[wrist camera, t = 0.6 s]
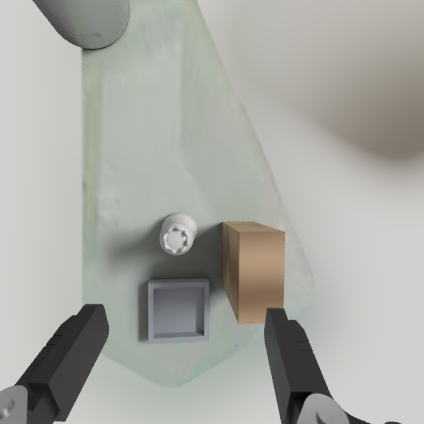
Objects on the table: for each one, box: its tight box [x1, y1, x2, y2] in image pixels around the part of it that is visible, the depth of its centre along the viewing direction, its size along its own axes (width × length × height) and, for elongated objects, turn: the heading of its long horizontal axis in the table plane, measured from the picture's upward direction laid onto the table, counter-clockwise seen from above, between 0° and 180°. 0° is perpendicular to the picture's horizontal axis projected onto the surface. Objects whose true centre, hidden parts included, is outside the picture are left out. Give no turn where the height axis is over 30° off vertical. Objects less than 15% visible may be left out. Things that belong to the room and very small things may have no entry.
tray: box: [148, 278, 209, 344], centre depth 28 cm, size 7×7×2 cm
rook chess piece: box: [159, 212, 197, 256], centre depth 25 cm, size 4×4×8 cm
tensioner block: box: [222, 222, 285, 324], centre depth 25 cm, size 9×4×10 cm, turn 0°
